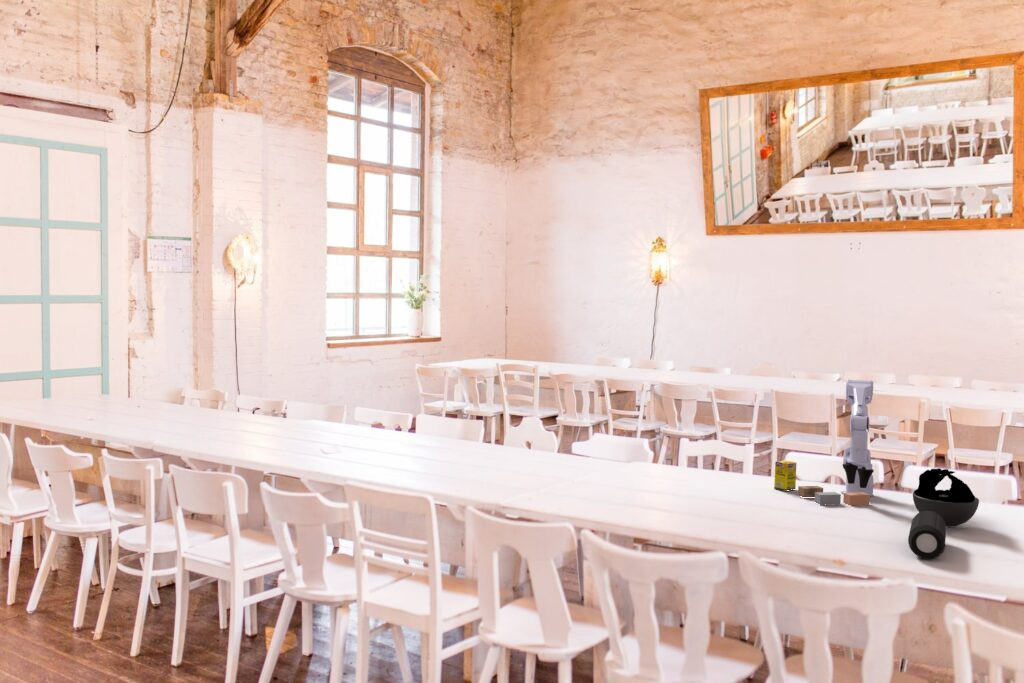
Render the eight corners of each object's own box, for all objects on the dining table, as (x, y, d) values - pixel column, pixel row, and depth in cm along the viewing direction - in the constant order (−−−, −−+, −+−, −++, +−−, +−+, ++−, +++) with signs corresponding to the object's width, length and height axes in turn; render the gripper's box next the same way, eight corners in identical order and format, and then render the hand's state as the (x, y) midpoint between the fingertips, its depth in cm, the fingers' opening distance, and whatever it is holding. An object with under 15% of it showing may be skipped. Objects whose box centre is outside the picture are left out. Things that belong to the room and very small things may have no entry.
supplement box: (787, 491, 359) (788, 463, 358) (773, 489, 363) (774, 461, 363) (795, 490, 362) (797, 462, 362) (782, 487, 367) (783, 459, 366)
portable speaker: (944, 563, 266) (946, 529, 266) (906, 559, 271) (908, 525, 270) (945, 542, 289) (947, 511, 289) (911, 538, 294) (912, 507, 293)
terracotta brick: (862, 503, 343) (863, 492, 343) (869, 505, 339) (869, 494, 339) (843, 503, 341) (843, 492, 341) (849, 506, 337) (849, 495, 337)
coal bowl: (921, 515, 324) (923, 462, 323) (984, 525, 311) (987, 470, 310) (903, 526, 308) (906, 470, 307) (969, 537, 296) (971, 478, 295)
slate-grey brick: (834, 502, 342) (835, 492, 342) (840, 505, 338) (840, 494, 338) (814, 503, 341) (814, 492, 341) (819, 505, 337) (820, 494, 337)
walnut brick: (817, 496, 353) (817, 485, 353) (822, 498, 349) (823, 488, 349) (797, 496, 351) (798, 486, 351) (803, 499, 347) (803, 488, 347)
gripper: (837, 445, 345) (836, 481, 346) (860, 452, 331) (858, 490, 332) (854, 445, 347) (853, 481, 347) (878, 451, 332) (876, 489, 333)
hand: (857, 485), depth 340 cm, fingers open, 7 cm apart
